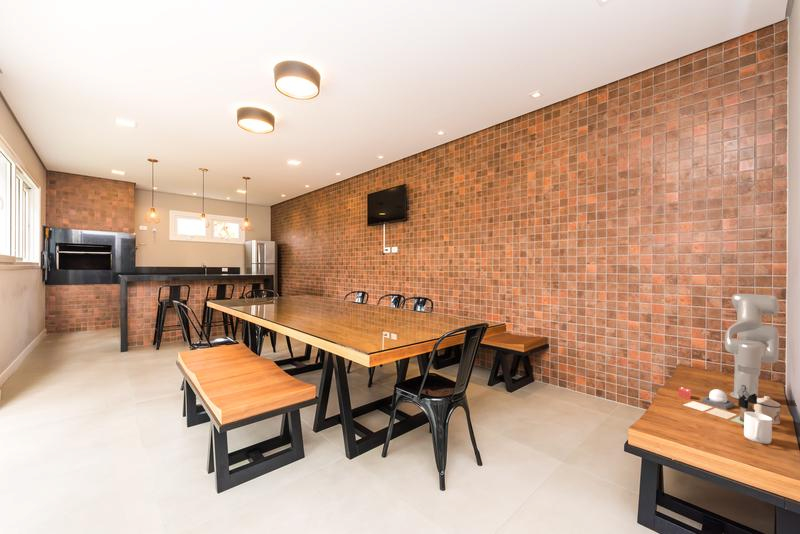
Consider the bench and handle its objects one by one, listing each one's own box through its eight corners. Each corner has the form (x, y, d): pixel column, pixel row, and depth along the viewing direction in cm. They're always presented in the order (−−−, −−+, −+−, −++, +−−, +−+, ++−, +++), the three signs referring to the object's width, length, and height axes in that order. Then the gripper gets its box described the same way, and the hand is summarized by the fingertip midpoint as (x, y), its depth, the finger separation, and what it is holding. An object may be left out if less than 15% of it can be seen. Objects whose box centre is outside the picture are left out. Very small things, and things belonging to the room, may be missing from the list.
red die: (679, 395, 195) (679, 386, 195) (690, 398, 192) (691, 388, 192) (678, 398, 192) (678, 388, 191) (690, 401, 188) (690, 390, 188)
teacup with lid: (780, 427, 159) (781, 402, 159) (752, 419, 166) (753, 396, 166) (781, 419, 167) (781, 395, 167) (754, 413, 174) (755, 390, 174)
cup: (771, 439, 148) (772, 416, 148) (771, 449, 140) (772, 425, 140) (744, 432, 154) (745, 409, 154) (742, 441, 146) (743, 417, 146)
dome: (712, 399, 187) (713, 386, 186) (729, 404, 180) (729, 390, 180) (706, 401, 183) (706, 388, 183) (723, 406, 177) (723, 393, 177)
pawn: (742, 418, 166) (742, 400, 166) (756, 422, 161) (756, 404, 161) (737, 420, 163) (738, 402, 163) (752, 424, 159) (752, 406, 159)
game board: (691, 401, 187) (691, 399, 187) (768, 425, 160) (769, 423, 160) (678, 406, 181) (678, 404, 181) (757, 431, 154) (757, 429, 154)
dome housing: (710, 400, 189) (710, 395, 189) (734, 407, 180) (734, 402, 180) (701, 404, 184) (701, 398, 184) (725, 411, 175) (726, 405, 175)
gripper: (745, 364, 169) (744, 398, 170) (730, 370, 161) (729, 406, 162) (767, 369, 162) (766, 404, 163) (752, 375, 155) (750, 412, 155)
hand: (747, 405), depth 163 cm, fingers open, 9 cm apart
